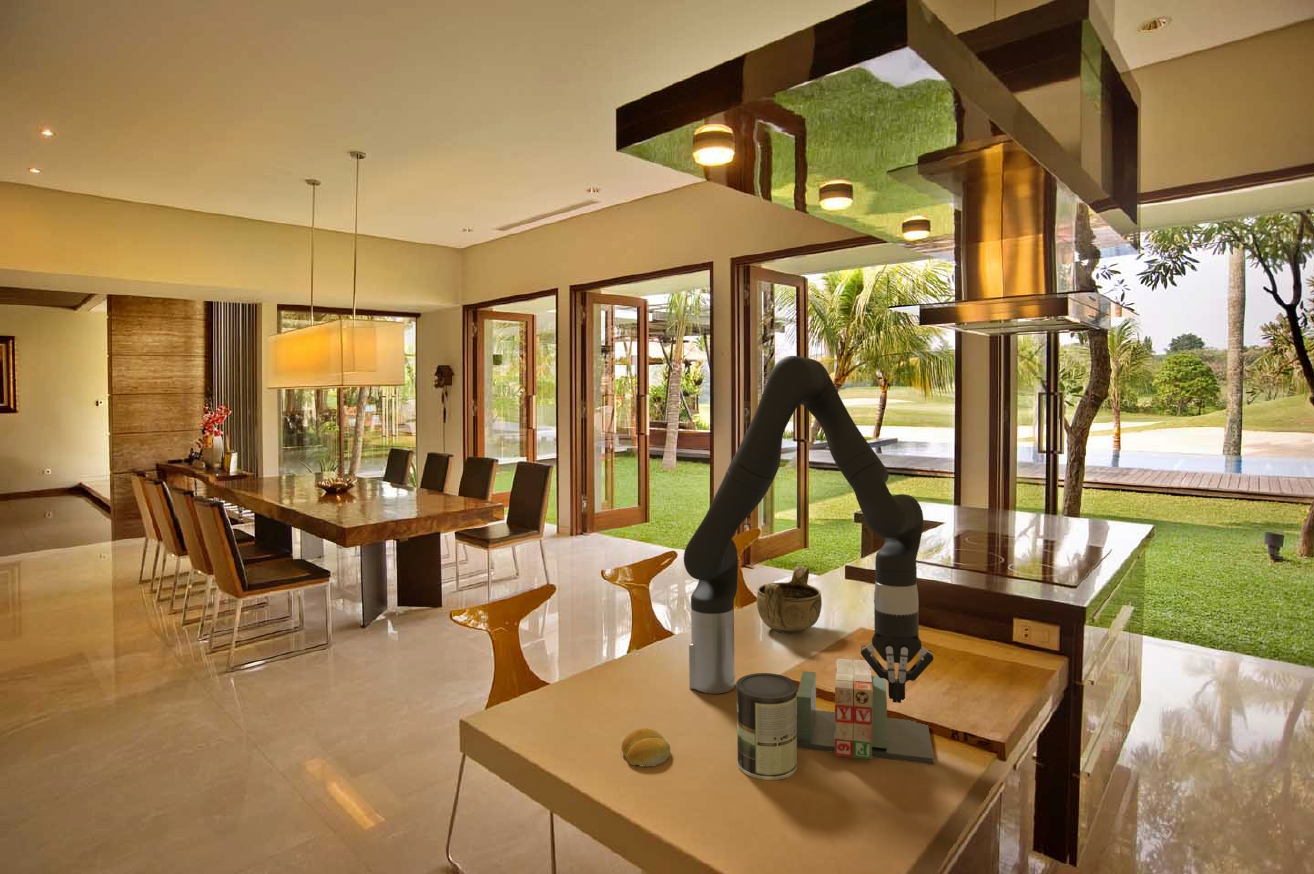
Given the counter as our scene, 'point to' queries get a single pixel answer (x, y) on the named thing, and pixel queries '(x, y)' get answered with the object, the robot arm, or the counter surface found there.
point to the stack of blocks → (853, 709)
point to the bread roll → (645, 747)
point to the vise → (819, 729)
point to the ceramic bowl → (790, 603)
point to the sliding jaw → (879, 713)
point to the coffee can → (767, 726)
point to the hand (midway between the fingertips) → (896, 700)
